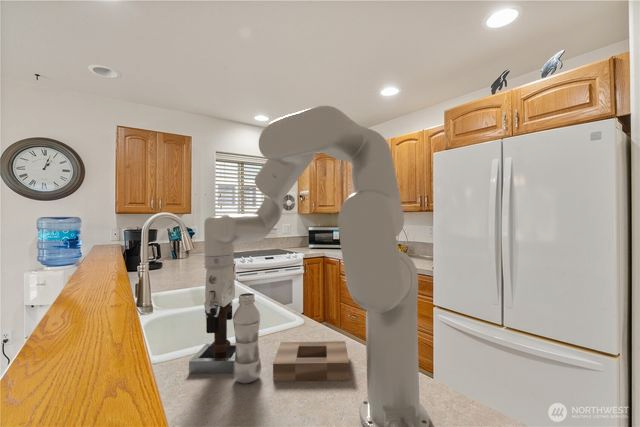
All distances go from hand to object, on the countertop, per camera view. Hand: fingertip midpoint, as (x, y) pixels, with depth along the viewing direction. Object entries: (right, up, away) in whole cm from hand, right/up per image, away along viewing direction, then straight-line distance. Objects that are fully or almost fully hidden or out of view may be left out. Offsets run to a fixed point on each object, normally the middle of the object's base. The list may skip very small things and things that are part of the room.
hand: (220, 325), depth 75 cm
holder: (0, -10, 0) cm, 10 cm away
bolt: (0, -10, 0) cm, 10 cm away
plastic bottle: (+10, -10, -9) cm, 16 cm away
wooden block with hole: (+25, -9, -4) cm, 27 cm away
